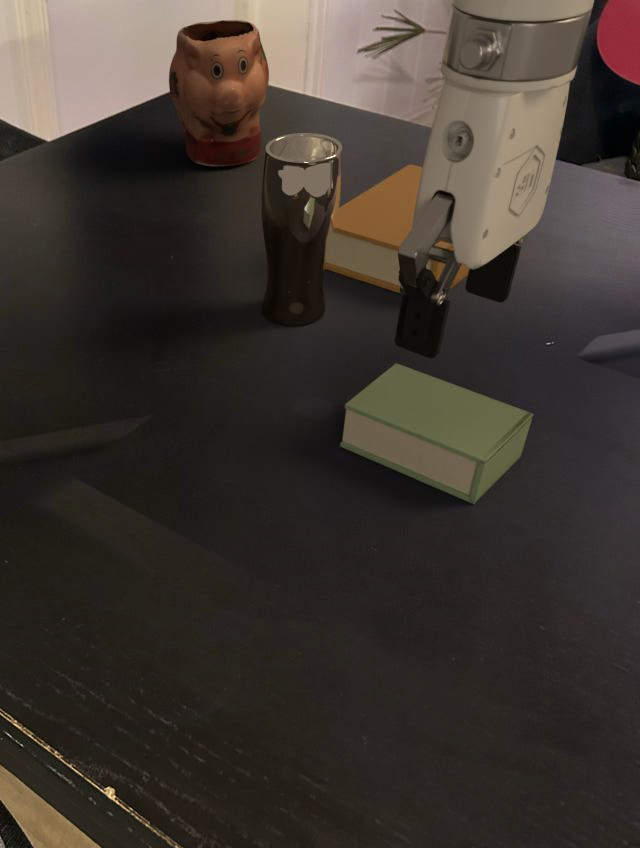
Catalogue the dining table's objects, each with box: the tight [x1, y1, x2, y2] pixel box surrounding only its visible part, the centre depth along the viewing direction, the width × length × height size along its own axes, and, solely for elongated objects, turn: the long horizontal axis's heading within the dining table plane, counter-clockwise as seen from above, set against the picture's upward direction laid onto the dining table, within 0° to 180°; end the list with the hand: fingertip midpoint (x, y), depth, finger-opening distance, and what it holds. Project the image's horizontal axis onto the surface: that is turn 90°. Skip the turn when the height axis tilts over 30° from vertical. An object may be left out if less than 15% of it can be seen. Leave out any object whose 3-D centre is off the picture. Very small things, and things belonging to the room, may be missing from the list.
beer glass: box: [260, 132, 343, 327], centre depth 83 cm, size 7×7×15 cm
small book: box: [339, 363, 534, 505], centre depth 71 cm, size 12×8×4 cm, turn 49°
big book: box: [324, 163, 469, 295], centre depth 94 cm, size 14×18×4 cm
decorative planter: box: [168, 19, 270, 167], centre depth 112 cm, size 20×12×14 cm, turn 13°
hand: (452, 322), depth 64 cm, fingers open, 9 cm apart
